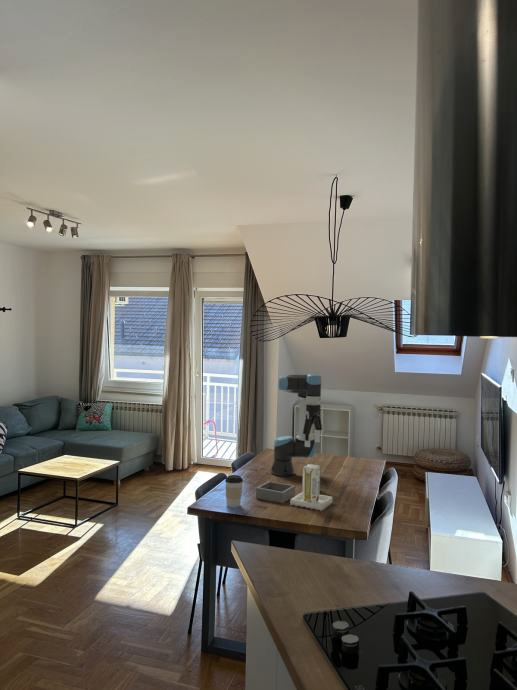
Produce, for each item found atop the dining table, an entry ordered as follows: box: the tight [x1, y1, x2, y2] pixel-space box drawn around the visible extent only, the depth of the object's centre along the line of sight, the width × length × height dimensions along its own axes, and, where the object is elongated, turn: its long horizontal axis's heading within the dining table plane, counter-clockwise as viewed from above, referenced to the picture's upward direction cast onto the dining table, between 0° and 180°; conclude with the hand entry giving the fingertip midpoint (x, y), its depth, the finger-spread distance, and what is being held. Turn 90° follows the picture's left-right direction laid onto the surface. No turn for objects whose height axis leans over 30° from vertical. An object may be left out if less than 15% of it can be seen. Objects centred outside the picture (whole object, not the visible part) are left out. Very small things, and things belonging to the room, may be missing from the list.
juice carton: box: [301, 463, 321, 503], centre depth 254 cm, size 8×9×19 cm
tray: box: [289, 491, 333, 512], centre depth 255 cm, size 17×16×3 cm
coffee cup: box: [224, 474, 244, 508], centre depth 250 cm, size 9×9×15 cm
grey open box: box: [255, 480, 296, 504], centre depth 265 cm, size 16×15×6 cm
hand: (312, 444), depth 257 cm, fingers open, 13 cm apart
